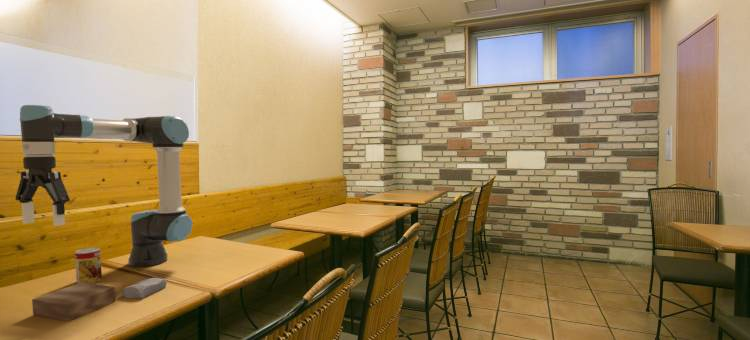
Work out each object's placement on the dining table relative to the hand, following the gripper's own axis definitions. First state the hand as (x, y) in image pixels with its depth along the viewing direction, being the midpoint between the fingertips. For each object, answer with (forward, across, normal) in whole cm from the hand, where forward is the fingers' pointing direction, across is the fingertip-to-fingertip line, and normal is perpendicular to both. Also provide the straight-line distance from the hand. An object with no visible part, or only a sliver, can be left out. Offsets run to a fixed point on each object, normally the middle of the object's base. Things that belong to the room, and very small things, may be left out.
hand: (43, 224), depth 119 cm
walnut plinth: (+28, +6, +4) cm, 29 cm away
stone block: (+28, +15, +21) cm, 38 cm away
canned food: (+28, -16, +24) cm, 40 cm away
